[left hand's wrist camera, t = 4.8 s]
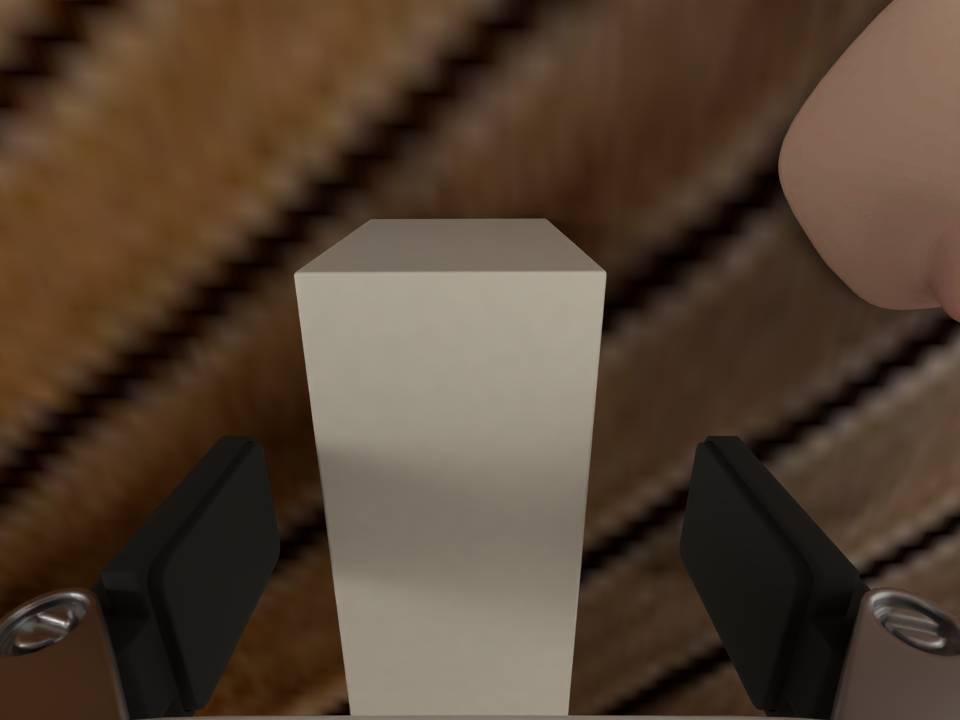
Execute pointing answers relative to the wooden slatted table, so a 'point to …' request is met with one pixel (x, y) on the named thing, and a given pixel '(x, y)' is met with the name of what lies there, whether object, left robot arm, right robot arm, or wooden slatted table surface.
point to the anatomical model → (886, 160)
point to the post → (454, 457)
